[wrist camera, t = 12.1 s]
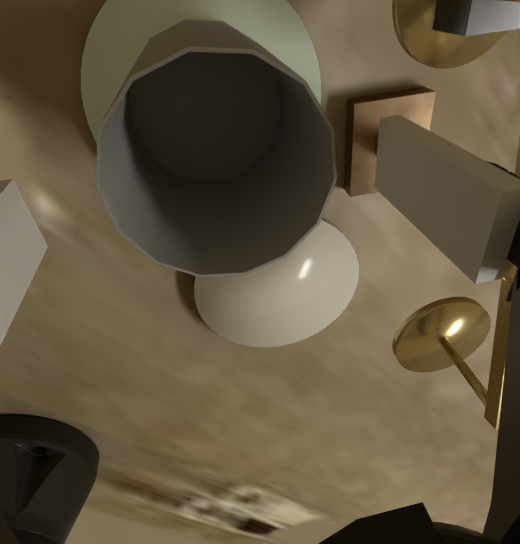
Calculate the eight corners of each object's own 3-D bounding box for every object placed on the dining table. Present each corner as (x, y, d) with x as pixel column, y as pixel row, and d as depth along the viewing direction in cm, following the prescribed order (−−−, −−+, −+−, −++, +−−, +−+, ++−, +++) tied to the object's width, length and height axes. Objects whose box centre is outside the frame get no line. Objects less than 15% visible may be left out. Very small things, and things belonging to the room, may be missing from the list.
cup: (107, 142, 22) (65, 235, 14) (159, -19, 18) (142, -19, 10) (240, 199, 25) (268, 299, 17) (308, 73, 21) (384, 127, 13)
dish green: (128, 219, 26) (126, 228, 25) (41, -24, 18) (34, -24, 17) (316, 187, 27) (321, 194, 26) (313, -58, 19) (320, -60, 18)
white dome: (210, 349, 35) (210, 359, 34) (176, 224, 27) (176, 233, 26) (350, 321, 36) (354, 331, 35) (357, 193, 28) (363, 200, 27)
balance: (402, 266, 33) (542, 445, 20) (337, 278, 32) (439, 469, 20) (457, -89, 19) (995, -224, 6) (347, -76, 19) (693, -192, 6)
